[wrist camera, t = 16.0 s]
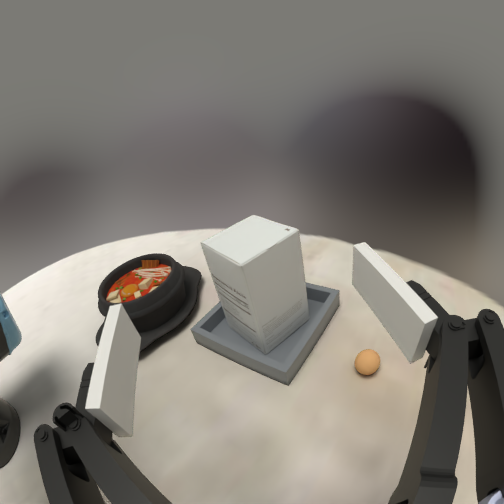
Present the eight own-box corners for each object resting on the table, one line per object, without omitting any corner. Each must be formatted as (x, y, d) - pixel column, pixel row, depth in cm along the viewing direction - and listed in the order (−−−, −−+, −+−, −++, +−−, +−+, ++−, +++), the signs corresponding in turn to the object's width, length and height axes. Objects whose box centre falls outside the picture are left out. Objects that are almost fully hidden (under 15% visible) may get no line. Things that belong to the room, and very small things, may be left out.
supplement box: (270, 295, 47) (253, 212, 39) (310, 319, 40) (301, 227, 33) (226, 325, 43) (198, 240, 35) (264, 356, 36) (240, 264, 29)
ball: (350, 375, 31) (351, 360, 30) (359, 356, 33) (361, 341, 32) (373, 382, 29) (377, 368, 28) (381, 363, 32) (385, 347, 30)
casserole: (156, 270, 63) (143, 238, 59) (225, 277, 55) (214, 240, 51) (83, 345, 44) (60, 312, 40) (151, 379, 36) (124, 341, 32)
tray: (196, 342, 41) (190, 329, 40) (256, 283, 52) (252, 269, 50) (288, 385, 32) (285, 372, 31) (339, 305, 42) (339, 290, 41)
